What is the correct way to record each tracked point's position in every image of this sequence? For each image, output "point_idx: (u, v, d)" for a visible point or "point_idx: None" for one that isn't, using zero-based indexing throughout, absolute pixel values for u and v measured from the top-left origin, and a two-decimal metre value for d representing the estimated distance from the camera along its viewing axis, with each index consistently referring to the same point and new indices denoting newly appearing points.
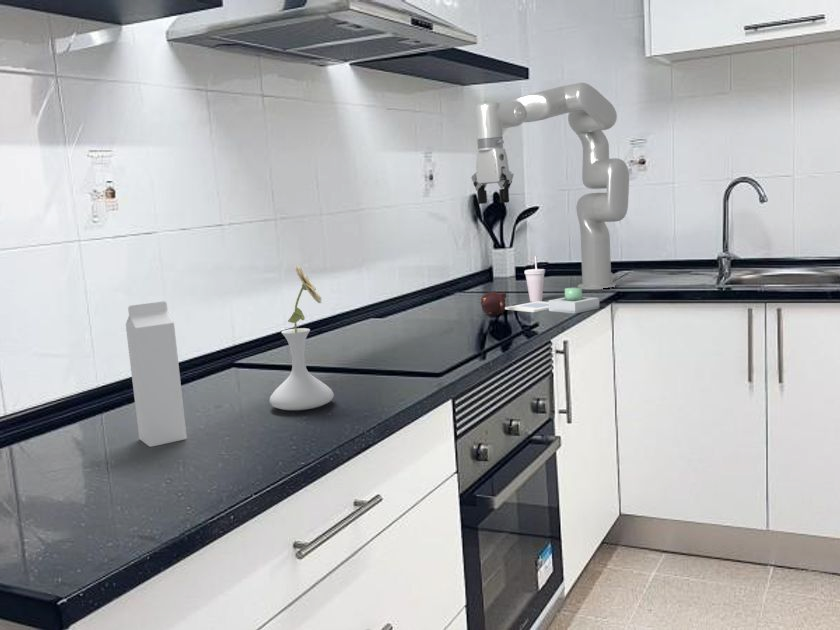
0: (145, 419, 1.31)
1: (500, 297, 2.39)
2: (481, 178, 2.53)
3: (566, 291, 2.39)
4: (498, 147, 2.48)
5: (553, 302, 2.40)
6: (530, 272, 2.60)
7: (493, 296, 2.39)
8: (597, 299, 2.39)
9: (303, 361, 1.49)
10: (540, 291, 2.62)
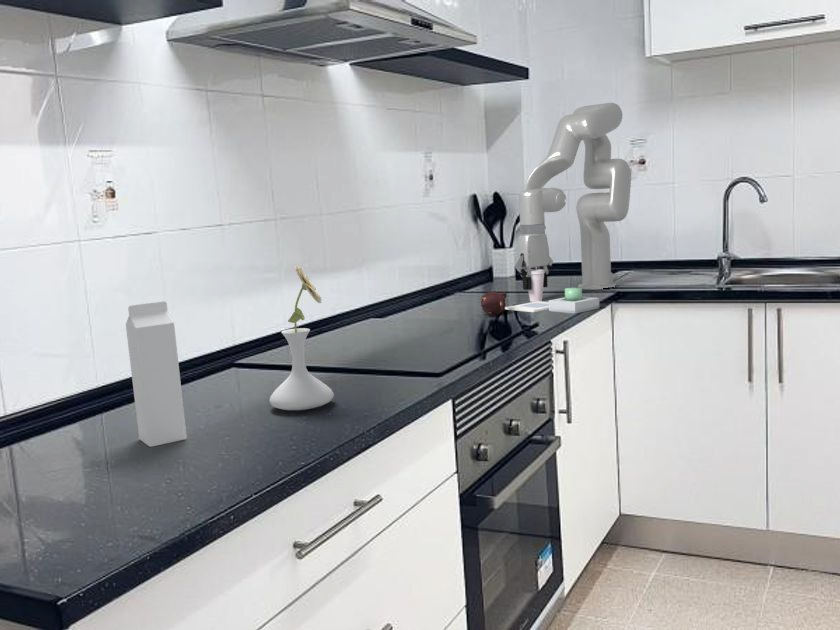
0: (145, 419, 1.31)
1: (500, 297, 2.39)
2: (534, 262, 2.59)
3: (566, 291, 2.39)
4: None
5: (553, 302, 2.40)
6: (530, 272, 2.60)
7: (493, 296, 2.40)
8: (597, 299, 2.39)
9: (303, 361, 1.49)
10: (540, 291, 2.62)
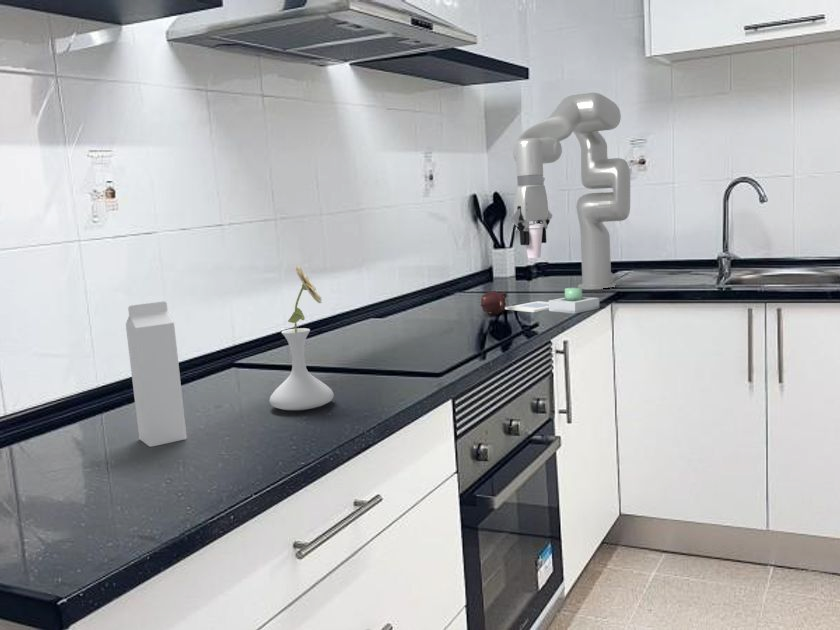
0: (145, 419, 1.31)
1: (500, 297, 2.40)
2: (531, 215, 2.43)
3: (566, 291, 2.39)
4: None
5: (553, 302, 2.40)
6: (528, 226, 2.44)
7: (493, 296, 2.40)
8: (597, 299, 2.39)
9: (303, 361, 1.49)
10: (538, 246, 2.46)
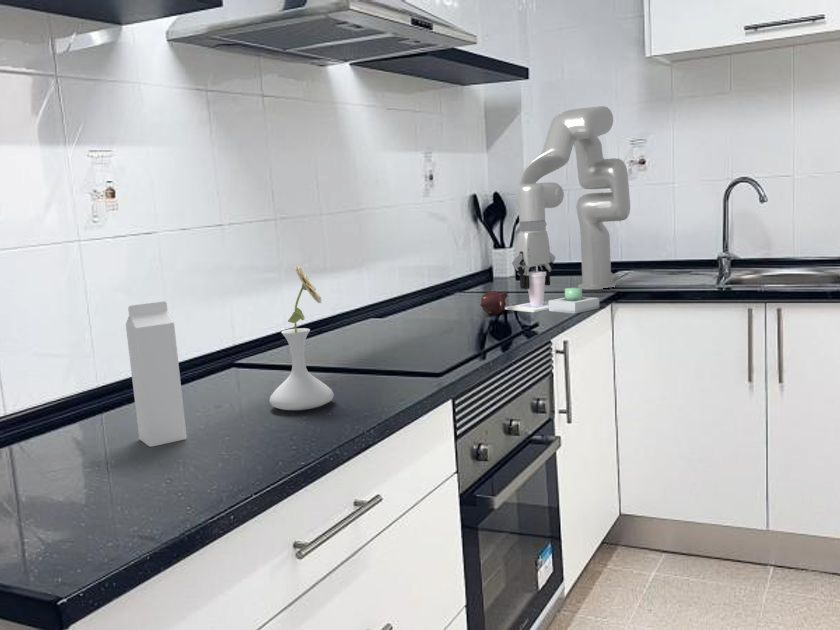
0: (145, 419, 1.31)
1: (500, 296, 2.40)
2: (534, 260, 2.45)
3: (566, 291, 2.39)
4: None
5: (553, 302, 2.40)
6: (531, 275, 2.46)
7: (493, 295, 2.40)
8: (597, 299, 2.39)
9: (303, 361, 1.49)
10: (541, 295, 2.48)
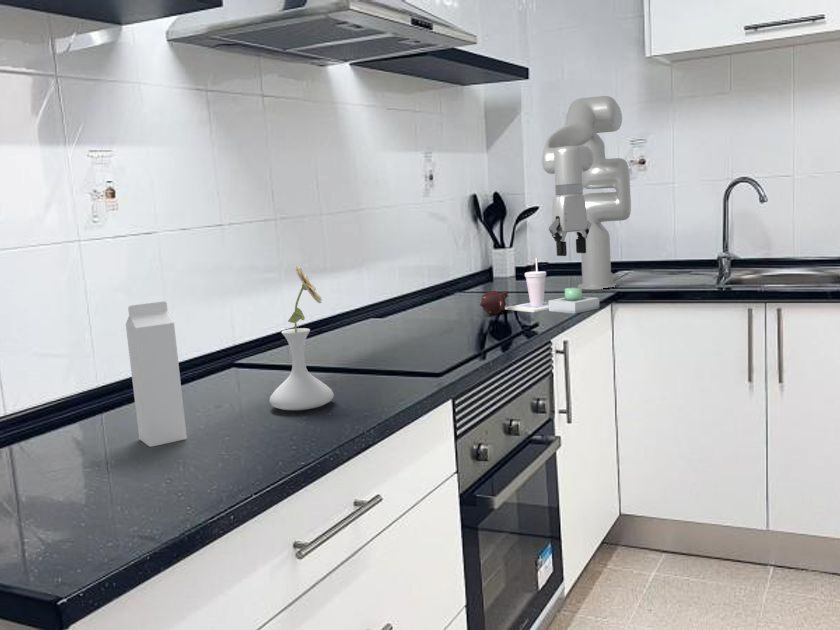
0: (145, 419, 1.31)
1: (500, 296, 2.41)
2: (570, 226, 2.34)
3: (566, 291, 2.39)
4: None
5: (553, 302, 2.40)
6: (531, 275, 2.46)
7: (493, 295, 2.41)
8: (597, 299, 2.39)
9: (303, 361, 1.49)
10: (541, 295, 2.48)
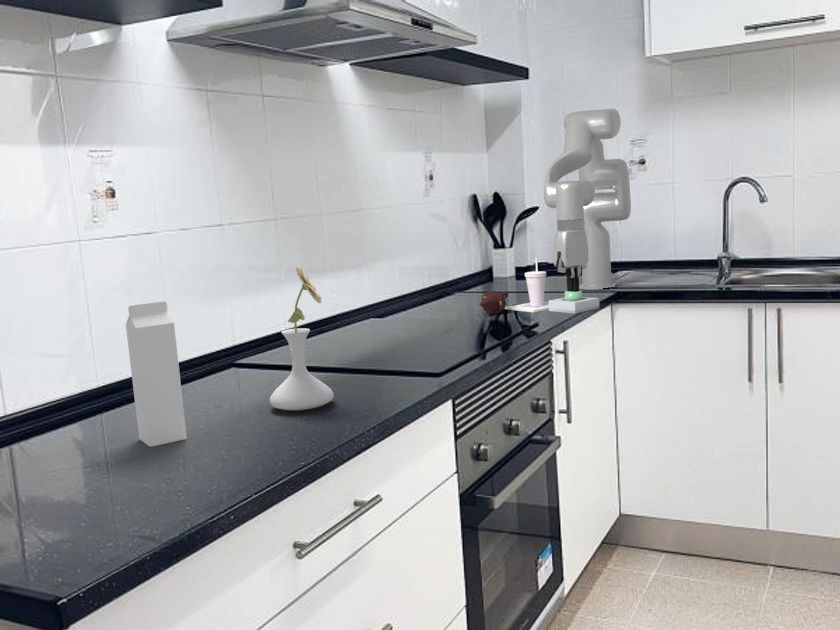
0: (145, 419, 1.31)
1: (499, 296, 2.41)
2: (572, 261, 2.36)
3: (566, 294, 2.39)
4: None
5: (553, 302, 2.40)
6: (531, 275, 2.46)
7: (493, 295, 2.41)
8: (597, 299, 2.39)
9: (303, 361, 1.49)
10: (541, 295, 2.48)
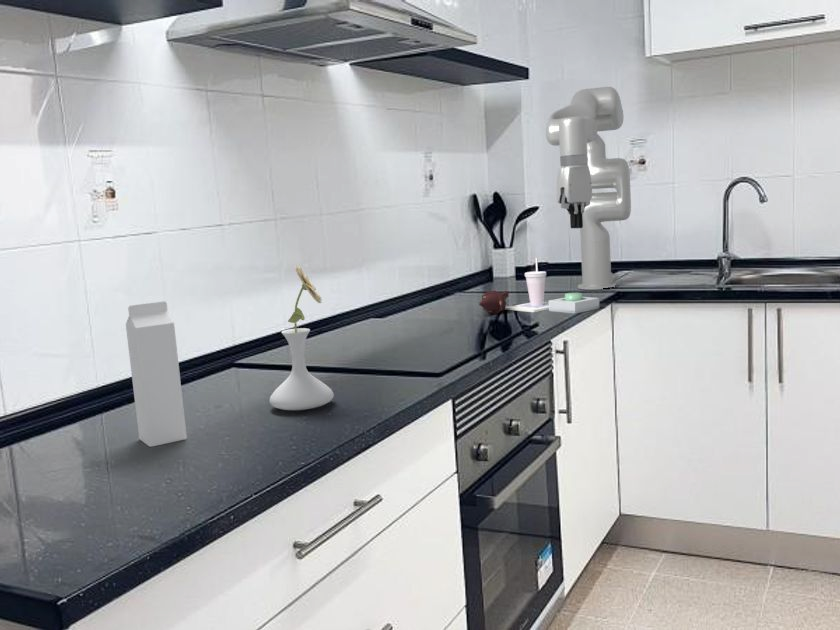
0: (145, 419, 1.31)
1: (499, 296, 2.41)
2: (575, 197, 2.34)
3: (566, 296, 2.39)
4: None
5: (553, 302, 2.40)
6: (531, 275, 2.46)
7: (493, 295, 2.42)
8: (597, 299, 2.39)
9: (303, 361, 1.49)
10: (541, 295, 2.48)
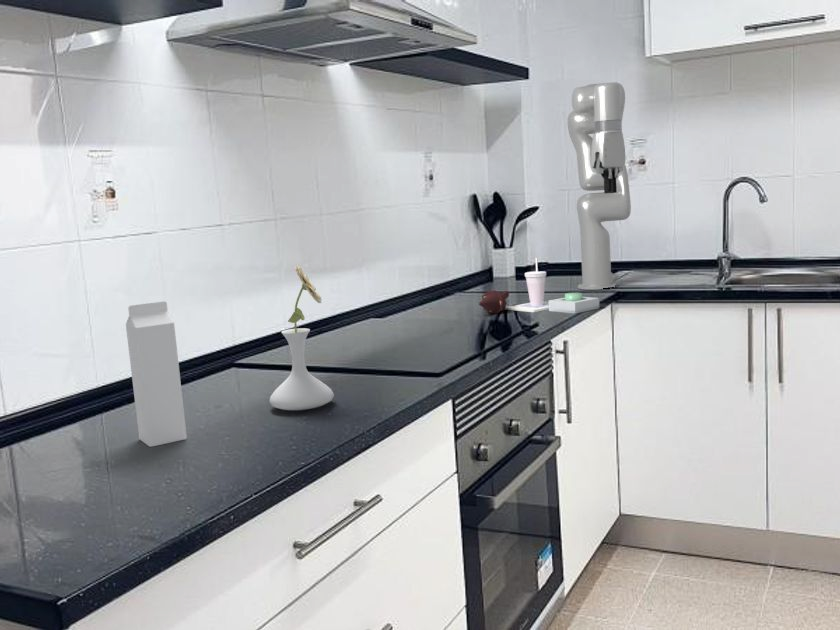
0: (145, 419, 1.31)
1: (499, 296, 2.42)
2: (610, 161, 2.39)
3: (566, 296, 2.39)
4: None
5: (553, 302, 2.40)
6: (531, 275, 2.46)
7: (493, 295, 2.42)
8: (597, 299, 2.39)
9: (303, 361, 1.49)
10: (541, 295, 2.48)
